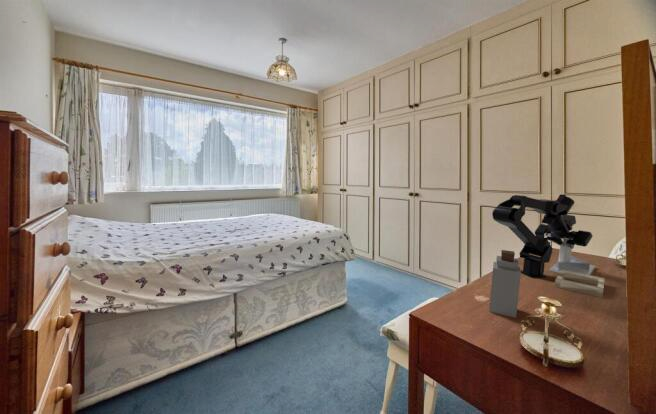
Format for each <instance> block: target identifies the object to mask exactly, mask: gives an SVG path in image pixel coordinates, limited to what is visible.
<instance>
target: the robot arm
mask: <svg viewBox="0 0 656 414" xmlns="http://www.w3.org/2000/svg"><path fill="white" fill-rule="evenodd" d="M574 205H575V200H574V199H572V198H571V197H570V196H567V194H559V196H558V197H557V199H556V200H555V199H554V200H553V199H543V198H541V199H537V198H533V197H529V196H527V195H522V194H521V195H518V194H517V195H516V194H514V195H512V196H511V197H510V198H509V199H507V200H505V201H502V202H500V203H499V204H498V205H497V206H495V208H493V210H492V219H493V221H495V222H497V223H498V224H499V225H503V226H505V227H508V229H509V230H510V231H511V232H512V233H514V235H516V237H517V238H518V239H519V240H520V241H521V242H522V243H523V244H524V245H523V246H522V249H521V250H520V252H519V258H522V259H523V264H522V265H523V268H522V270H520V271H521V274H523V275H525V276H527V277H530V278H546V277H547V275H546V274H544V271H545V264H547V263H550V259H551V257H552V254H553V248H552V245H551V242H552V243H554V244H556V245H558V246H559V247H560V246H561V244H562V243H563V239H564V238H566V239H568V241H567V242H566V244H567V245H568V246H569V247H570V248H572V250H573V249H574V248H575V245H576V246H579V247H587V246H588V244H589V243H590V241H591V240H592V238H593V236H594V235H593V234H592V232H591V231H587V230H581V229H579V230H578V231H575V230H573V226H574V225H576V224H577V221H576V220H577V219H576V216H575V215H572V214H571V215H570V214H568V213H570V210H571V209H572V208H573V207H574ZM515 207H518V208H515ZM526 208H527V209H532V210H533V211H534V212H536V213H538V214H543V218H542V220H541V223H540V224H539V225H538V226H537V228H536V229H535V231H534V232H532V230H531V229H530V228H529V227H528V226H527V225H526V224H525V223H524V222H523V220H522V219H523V217H524V216H525V215H526ZM549 241H550V242H549Z"/></svg>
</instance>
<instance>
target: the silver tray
mask: <svg viewBox="0 0 656 414" xmlns="http://www.w3.org/2000/svg"><path fill="white" fill-rule="evenodd" d="M595 268H596V265H593V264H591V262H588V261H587V260H584V259H581V258H578V257H575V256H573V255H571V259H570V262H559V261H558V260H557V261H555V263H554V264H553V265H552V266H550V267H549V271H550V272H554V273H558V274H559V272H560V271H561V270H566V271H571V272H576V273H581V274H586V275H592V274H593V271H594V270H595Z"/></svg>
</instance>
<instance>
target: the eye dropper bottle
mask: <svg viewBox="0 0 656 414" xmlns="http://www.w3.org/2000/svg"><path fill="white" fill-rule="evenodd" d="M562 241H563V243H562V244H561V246H560V245H559V251H558V252H559V253H558V260H557V261H559V262H570V259H571V256H572V251H573V249H572V248H570V247H569V246H568V245H567V244H566V242H567V241H568V239H566V238H564V239H562Z"/></svg>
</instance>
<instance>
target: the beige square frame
mask: <svg viewBox="0 0 656 414" xmlns="http://www.w3.org/2000/svg"><path fill="white" fill-rule="evenodd" d="M604 286H605V277H602V276H601V277H600V276H597V275H596V276H595V275H592V274H591V275H586V274H581V273H576V272H571V271H566V270H561V271H560V272H559V273H558V275H557V276H556V278H555V281H554V287H556V288H560V289H564V290H567V291H572V292H577V293H580V294H585V295H589V296H594V297H597V298H603V295H604V289H605V287H604Z"/></svg>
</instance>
